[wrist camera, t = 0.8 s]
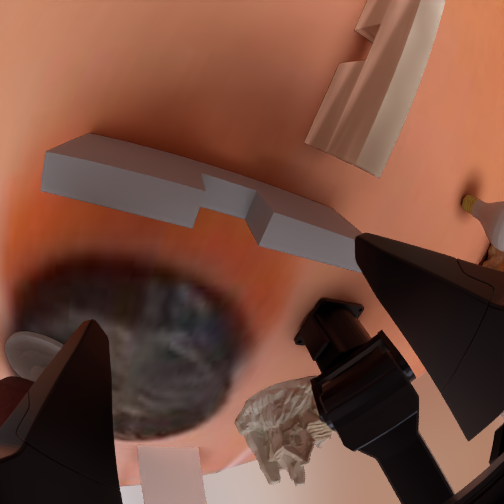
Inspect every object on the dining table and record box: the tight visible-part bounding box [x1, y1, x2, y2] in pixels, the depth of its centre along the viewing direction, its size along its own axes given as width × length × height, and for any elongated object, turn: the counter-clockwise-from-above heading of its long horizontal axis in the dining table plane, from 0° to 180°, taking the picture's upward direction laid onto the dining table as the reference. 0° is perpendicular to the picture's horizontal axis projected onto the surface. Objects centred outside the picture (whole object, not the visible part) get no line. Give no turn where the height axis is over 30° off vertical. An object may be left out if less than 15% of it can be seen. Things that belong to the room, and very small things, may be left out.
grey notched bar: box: [41, 133, 362, 273], centre depth 17 cm, size 20×2×7 cm, turn 67°
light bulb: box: [462, 195, 504, 252], centre depth 23 cm, size 6×5×10 cm
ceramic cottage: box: [235, 376, 340, 486], centre depth 34 cm, size 16×16×15 cm
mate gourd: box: [0, 331, 64, 428], centre depth 17 cm, size 16×14×20 cm
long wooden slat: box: [304, 0, 445, 178], centre depth 14 cm, size 2×18×7 cm, turn 156°
